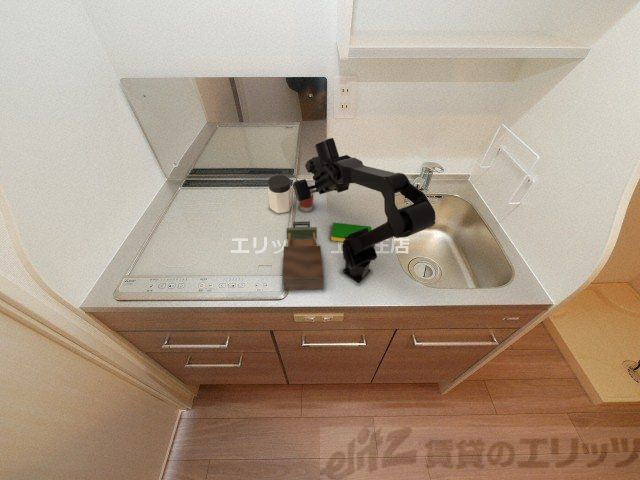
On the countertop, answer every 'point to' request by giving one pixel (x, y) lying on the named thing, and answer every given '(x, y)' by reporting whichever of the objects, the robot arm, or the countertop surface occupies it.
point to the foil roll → (307, 202)
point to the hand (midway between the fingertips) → (313, 190)
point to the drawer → (302, 235)
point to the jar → (280, 193)
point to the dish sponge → (345, 230)
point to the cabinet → (302, 268)
